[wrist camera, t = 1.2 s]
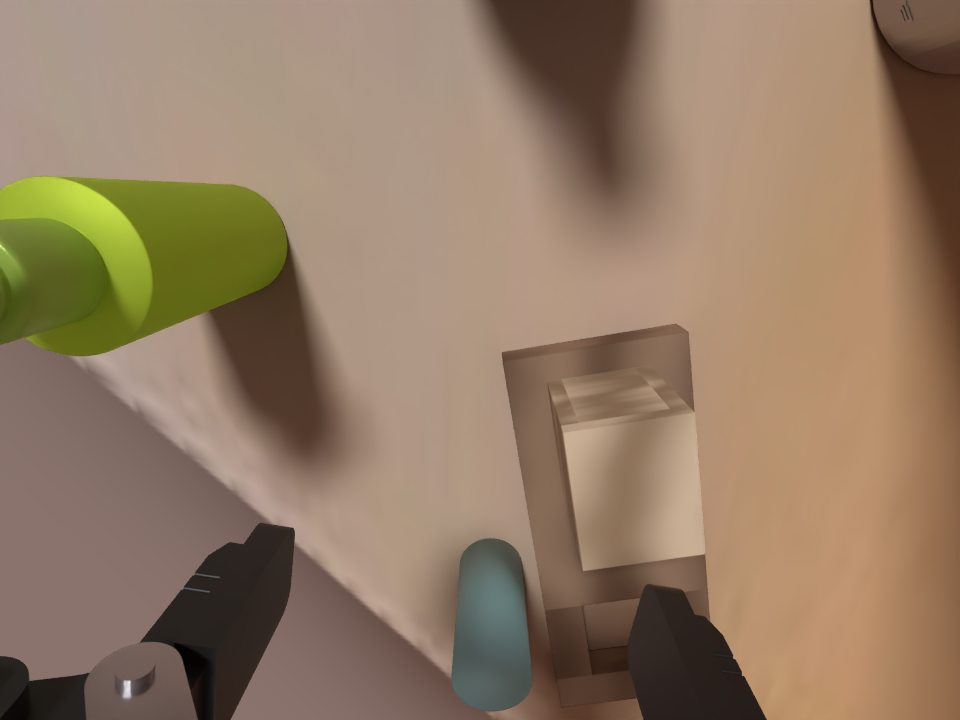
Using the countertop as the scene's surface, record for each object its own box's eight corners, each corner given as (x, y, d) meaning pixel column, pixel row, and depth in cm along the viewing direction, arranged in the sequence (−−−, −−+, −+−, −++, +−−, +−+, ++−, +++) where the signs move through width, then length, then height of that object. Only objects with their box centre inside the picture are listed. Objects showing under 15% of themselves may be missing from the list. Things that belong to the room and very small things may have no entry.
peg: (516, 534, 36) (525, 641, 27) (526, 587, 37) (537, 706, 28) (454, 543, 36) (444, 651, 28) (466, 595, 37) (459, 715, 29)
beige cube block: (649, 365, 31) (694, 412, 24) (660, 480, 33) (705, 554, 26) (546, 381, 31) (563, 432, 24) (563, 494, 33) (583, 571, 26)
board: (676, 323, 32) (717, 351, 26) (703, 663, 39) (741, 745, 33) (501, 352, 33) (504, 385, 27) (557, 682, 39) (569, 766, 33)
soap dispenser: (323, 236, 31) (54, 302, 12) (235, 314, 32) (-138, 488, 13) (247, 147, 30) (-194, 58, 11) (158, 232, 31) (-379, 290, 12)
